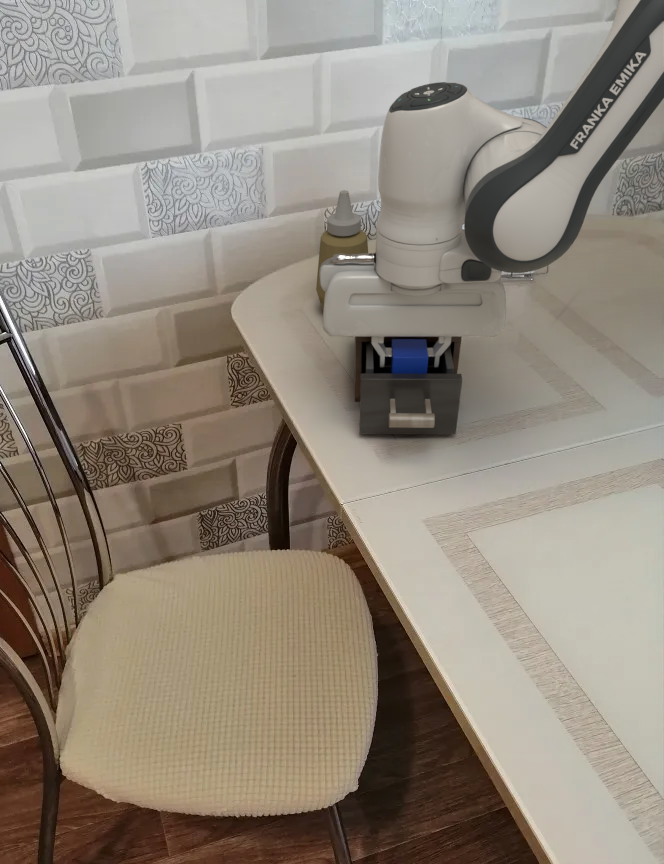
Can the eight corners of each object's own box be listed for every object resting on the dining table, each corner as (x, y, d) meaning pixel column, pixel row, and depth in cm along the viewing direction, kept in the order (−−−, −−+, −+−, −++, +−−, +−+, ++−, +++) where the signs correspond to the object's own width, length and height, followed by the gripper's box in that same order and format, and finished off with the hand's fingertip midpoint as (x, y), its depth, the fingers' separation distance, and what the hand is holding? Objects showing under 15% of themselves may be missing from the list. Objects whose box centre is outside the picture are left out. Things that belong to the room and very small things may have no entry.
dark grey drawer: (459, 458, 91) (466, 403, 86) (359, 458, 92) (360, 402, 87) (446, 371, 105) (451, 319, 99) (359, 371, 105) (360, 319, 100)
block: (423, 368, 96) (426, 339, 93) (425, 386, 93) (428, 357, 90) (390, 367, 96) (391, 339, 94) (391, 386, 93) (393, 357, 91)
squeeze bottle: (305, 311, 120) (301, 192, 108) (344, 293, 123) (345, 176, 111) (341, 331, 115) (342, 209, 103) (381, 312, 119) (386, 191, 107)
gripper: (318, 267, 83) (319, 379, 92) (517, 266, 81) (499, 380, 91) (320, 241, 87) (321, 350, 97) (509, 240, 86) (492, 350, 95)
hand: (408, 364), depth 94 cm, fingers closed on block, 4 cm apart
